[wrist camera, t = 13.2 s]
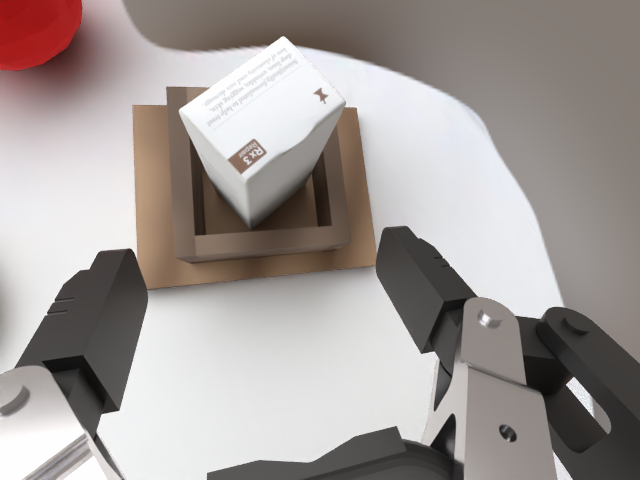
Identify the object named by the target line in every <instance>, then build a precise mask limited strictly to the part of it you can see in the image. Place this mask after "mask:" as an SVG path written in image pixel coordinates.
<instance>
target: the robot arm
mask: <svg viewBox="0 0 640 480" xmlns="http://www.w3.org/2000/svg"><path fill="white" fill-rule="evenodd" d="M442 257H443V256H442V255H441V254H440V253H439V252H438V251H437V250H436V249H435V247H434V246H432V245H431V244H429V243H427V242H426V241H424V240H423V239H421V238H420V239H418V238H417V237H416V236H415V235H414V233H413V232H412V231H411V230H410V229H409V228H408V227H407V226H397V227H386V228H384V230H383V232H382V235H381V240H380V244H379V249H378V253H377V258H376V273H377V276H378V278H379V280H380V282H381V284H382V285H383V287H384V289H385V291H386V293H387V294H388V296H389V298H390V300H391V301H392V303H393V305H394V307H395V308H396V310H397V312H398V314H399V315H400V317H401V319H402V321H403V323H404V324H405V326H406V328H407V330H408V331H409V333H410V335H411V337H412V338H413V340H414V342H415V344H416V345H417V347H418V349H419V351H420V352H421V354H423V353H428V352H433V351H435V353H436V354H437V356H438V359H437V361H436V365H435V372H434V380H433V387H432V394H431V401H430V408H429V415H428V420H427V424H426V427H425V430H424V433H423V437H422V440H421V443H419V442H415V441H410V440H406V439H402V438H401V436H400V433H399V431H398V428H397V426H395V427H391V428H387V429H383V430H379V431H375V432H371V433H367V434H363V435H359V436H355V437H353V438H352V439H350V440H348V441H347V442H345V443H343V444H342V445H340V446H338V447H337V448H335V449H334V450H332V451H330V452H329V453H327V454H325V455H324V456H322V457H320V458H319V459H317V460H315V461H313V462H309V463H303V462H283V461H264V460H258V461H254V462H250V463H246V464H242V465H238V466H234V467H230V468H226V469H222V470H218V471H214V472H210V473H207V480H557V475H556V469H555V463H554V457H553V451H554V452H555V454H556V455H557V457H558V458H559V460H560V461H561V463H562V464H563V465H564V467H565V468H566V470H567V471H568V473H569V474H570V476H571V477H572V479H573V480H640V364H639V363H638V362H637V361H636V360H635V359H634V358H633V357H632V356H631V355H629V354H628V353H627V352H626V351H625V350H624V349H623V348H622V347H621V346H619V345H618V344H617V343H616V342H615V341H614V340H613V339H612V338H611V337H610V336H608V335H607V334H606V333H605V332H604V331H603V330H602V329H601V328H600V327H598V326H597V325H596V324H595V323H594V322H593V321H592V320H590V319H589V318H587V317H586V316H584V315H582V314H580V313H578V312H576V311H574V310H571V309H568V308H563V307H552V308H549V309H548V310H547V311H546V312H545V313H544V315H543V316H542V318H541V319H536V318H528V317H520V316H514V314H513V313H512V312H511V311H510V310H509V309H508V308H506V307H505V306H504V305H502V304H500V303H498V302H496V301H494V300H491V299H488V298H483V297H478V296H477V295H476V294H475V293H474V292H473V291H472V290H471V288H470V287H469V286H468V285H467V284H466V283H465V282H464V280H463V279H462V278H461V277H460V276H459V275H458V274H457V272H456V271H455V270H454V269H453V268H452V267H450V264H449V263H448V262H447V261H446V260H445V259H443V258H442ZM147 303H148V292H147V287H146V284H145V281H144V278H143V276H142V273H141V270H140V268H139V265H138V262H137V259H136V257H135V254H134V252H133V251H132V249H118V250H107V251H100V252H99V253H98V254H97V256H96V258H95V260H94V262H93V264H92V265H91V267H90V269H89V270H80V271H79V272H78V273H77V274H75V275H74V276H73V277H72V278H71V279H70V280H68V281H67V282H66V283H65V284H64V285H63V287H62V288H61V290H60V292H59V293H58V295H57V297H56V298H55V303H52V305H51V307H50V309H49V310H48V312H47V314H48V315H47V316H45V317H44V319H43V320H42V322H41V324H40V326H39V327H38V329H37V331H36V332H35V334H34V336H33V337H32V339H31V341H30V342H29V344H28V346H27V348H26V349H25V351H24V353H23V354H22V356H21V358H20V359H19V361H18V363H17V364H16V366H15V368H14V369H12V370H10V371H7V372H5V373H3V374H0V480H127V479H126V477H125V476H124V474H123V473H122V471H121V469H120V468H119V466H118V464H117V463H116V461H115V459H114V458H113V456H112V454H111V453H110V451H109V449H108V448H107V446H106V444H105V443H104V441H103V440H102V438H101V436H100V435H99V433H98V432H97V427H98V424H99V421H100V417H101V414H104V413H109V412H115V411H119V410H120V406H121V402H122V399H123V395H124V391H125V387H126V384H127V380H128V376H129V372H130V369H131V365H132V361H133V357H134V353H135V350H136V346H137V342H138V338H139V335H140V331H141V327H142V323H143V320H144V316H145V312H146V308H147ZM573 377H575V378H576V379H577V380H578V381H579V383H580V384H581V385H582V386H583V387H584V388H585V389H586V390H587V392H588V393H589V394H590V395H591V396H592V397H593V398H594V399H595V400H596V402H597V403H598V404H599V405H600V406H601V407H602V408H603V410H604V411H605V412H606V414H607V415H608V417H609V419H610V422H611V432H610V433H609V434H607V433H606V432H605V431H604V430H603V428H602V427H601V426H600V425H599V424H598V422H597V421H596V420H595V419H594V418H593V416H592V415H591V414H590V413H589V412H588V411H587V409H586V408H585V407H584V406H583V405H582V403H581V402H580V401H579V400H578V399H577V398H576V396H575V395H574V394H573V393H572V392H571V390H570V389H569V388H568V387H567V386H566V384H567V383H568V382H569V381H570V380H571V379H572V378H573ZM552 449H553V451H552Z"/></svg>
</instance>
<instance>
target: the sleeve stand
mask: <svg viewBox="0 0 640 480" xmlns="http://www.w3.org/2000/svg"><path fill="white" fill-rule="evenodd" d="M208 89H209V88H203V87H166V90H167V105H133V133H134V165H135V197H136V229H137V261H138V265H139V268H140V270H141V273H142V276H143V278H144V281H145V284H146V287H147V289H157V288H166V287H176V286H185V285H195V284H204V283H214V282H223V281H233V280H242V279H252V278H262V277H271V276H281V275H290V274H300V273H309V272H319V271H328V270H338V269H347V268H357V267H366V266H374V265H376V258H377V253H376V246H375V238H374V231H373V224H372V217H371V209H370V202H369V195H368V187H367V180H366V173H365V166H364V158H363V151H362V144H361V137H360V129H359V122H358V115H357V108H347V107H344V109H343V111H342V113H341V115H340V117H339V119H338V121H337V123H336V125H335V127H334V129H333V131H332V133H331V135H330V137H329V139H328V141H327V143H326V145H325V147H324V148H323V150H322V153H321V154H320V156H319V159H318V161H317V163H316V165H315V167H314V169H313V171H312V173H311V175H310V177H309V178H308V180H307V182H306V184H305V185H304V186H303V187H302V188H301V189H299V190H298V191H297V192H296V193H295V194H294V195H292V196H291V197H290V198H289V199H288V200H287V201H285V202H284V203H283V204H282V205H281V206H280V207H278V208H277V209H276V210H275V211H274V212H273V213H271V214H270V215H269V216H268V217H267V218H265V219H264V220H263V221H262V222H261V223H260V224H258V225H257V226H256V227H255V228H254V229H250V228H249V227H248V226H247V225H246V224H245V223H244V222H243V221H242V219H241V218H240V217H239V216H238V215H237V214H236V213H235V212H234V211H233V210H232V208H231V207H230V206H229V205H228V204H227V203H226V202H225V201H224V200H223V199H222V198H221V197H220V195H219V194H218V193H217V192H216V191H215V189H214V187H213V185H212V183H211V181H210V179H209V176H208V174H207V172H206V170H205V168H204V165H203V163H202V161H201V159H200V157H199V155H198V153H197V150H196V148H195V146H194V144H193V142H192V140H191V138H190V136H189V134H188V132H187V130H186V127H185V125H184V123H183V121H182V119H181V117H180V114H179V110H180V108H182V107H184V106H185V105H187V104H188V103H190V102H191V101H192V100H194V99H195V98H197V97H198V96H199V95H201V94H202V93H204V92H205V91H207V90H208Z"/></svg>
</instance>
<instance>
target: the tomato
mask: <svg viewBox="0 0 640 480" xmlns="http://www.w3.org/2000/svg"><path fill="white" fill-rule="evenodd" d="M81 16H82V1H81V0H0V70H13V71H18V70H22V69H26V68H30V67H34V66H38V65H42V64H44V63H45V62H47V61H48V60H50V59H51V58H53V57H54V56H56V55H57V54H59V53H60V52H61V51H63V50H64V49H66V48H67V47H68V46H69V44H70V42H71V40H72V38H73V37H74V35H75V33H76V31H77V29H78V28H79V26H80V24H81Z"/></svg>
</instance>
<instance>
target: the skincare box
mask: <svg viewBox="0 0 640 480" xmlns="http://www.w3.org/2000/svg"><path fill="white" fill-rule="evenodd" d="M345 105H346V102H345V100H344V98H343V97H342V96H341V95H340V94H339V93H338V92H337V91H336V90H335V89H334V87H333V86H332V85H331V84H330V83H329V82H328V81H327V80H326V79H325V78H324V77H323V76H322V75H321V73H320V72H319V71H318V70H317V69H316V68H315V67H314V66H313V65H312V64H311V63H310V62H309V61H308V60H307V58H305V56H304V55H303V54H302V53H301V52H300V51H299V50H298V49H297V48H296V47H295V46H294V45H293V44H292V43H291V42H290V41H289V40H288V39H287V38H286V37H281V38H280V39H278V40H277V41H276V42H274V43H273V44H271V45H270V46H269V47H267V48H266V49H265V50H263V51H262V52H260V53H259V54H258V55H256V56H255V57H253V58H252V59H250V60H249V61H248V62H246V63H245V64H243V65H242V66H241V67H239V68H238V69H236V70H235V71H234V72H232V73H231V74H229V75H228V76H227V77H225V78H224V79H222V80H221V81H219V82H218V83H217V84H215V85H214V86H212V87H211V88H209V89H208V90H207V91H205V92H204V93H202V94H201V95H199V96H198V97H197V98H195V99H194V100H192V101H191V102H190V103H188V104H187V105H185V106H184V107H182V108H180V110H179V114H180V117H181V119H182V121H183V123H184V125H185V127H186V130H187V132H188V134H189V136H190V138H191V140H192V142H193V144H194V146H195V148H196V150H197V153H198V155H199V157H200V159H201V161H202V163H203V165H204V168H205V170H206V172H207V174H208V176H209V179H210V181H211V183H212V185H213V187H214V189H215V191H216V192H217V193H218V194H219V195H220V197H221V198H222V199H223V200H224V201H225V202H226V203H227V204H228V205H229V206H230V207H231V208H232V210H233V211H234V212H235V213H236V214H237V215H238V216H239V217H240V218H241V219H242V221H243V222H244V223H245V224H246V225H247V226H248V227H249V228H250V229H254V228H255V227H256V226H257V225H258V224H260V223H261V222H262V221H263V220H264V219H265V218H267V217H268V216H269V215H270V214H271V213H273V212H274V211H275V210H276V209H277V208H278V207H280V206H281V205H282V204H283V203H284V202H285V201H287V200H288V199H289V198H290V197H291V196H292V195H294V194H295V193H296V192H297V191H298V190H299V189H301V188H302V187H303V186H304V185H305V184H306V182H307V180H308V178H309V177H310V175H311V173H312V171H313V169H314V167H315V165H316V163H317V161H318V159H319V156H320V154H321V153H322V150H323V148H324V147H325V145H326V143H327V141H328V139H329V137H330V135H331V133H332V131H333V129H334V127H335V125H336V123H337V121H338V119H339V117H340V115H341V113H342V111H343V109H344V107H345Z"/></svg>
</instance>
